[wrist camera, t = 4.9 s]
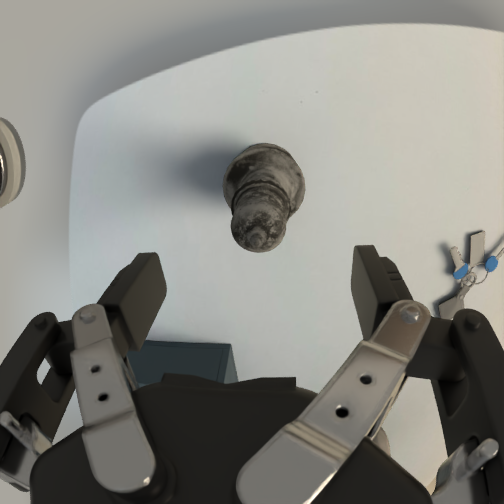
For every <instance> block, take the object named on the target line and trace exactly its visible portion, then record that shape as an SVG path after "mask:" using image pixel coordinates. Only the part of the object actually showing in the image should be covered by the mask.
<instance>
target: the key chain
mask: <svg viewBox="0 0 504 504" xmlns="http://www.w3.org/2000/svg"><path fill="white" fill-rule="evenodd" d="M484 244H485V231H483V232H480V233H477V234H475V235H472V236H471V250H470V266H471V267H472V268H473V267H474V266H477V265H479V264H484V263H482V262H483V260H484ZM457 249H458V247H456V246H454V247H452V248H451V250H450V253H451V255H452V258H453V261H454V263H455V266H456V267H455V270H454V272H453V276H454V278H455V279H461V278H462V280H461V288H460V290H459V292H458V293H457V294H456V295H455V297H453V298H451V299H449V300H447V301H446V302H444V303H442V304H440V305H439V311H440V317H441V318H442V319H449V320H450V319H452V318H453V317H454V315H455V313H456V312H457V311H459V310H461V309H464V302H463V299H464V297H465V295H466V293H467V292H468V291H469V289H470V288H471V287H472V286H473V285H474V284H480V283H482V282H483V281H484V280H485V279H486V277H487V275H488V272H492V271H493V270H495V268H496V267H497V265H498V259H499V258H500V257H501V256H502V254H503V253H504V248H503V249H502V250H501V252H500V253H499V254H498V255H497V256H496V257H495V256H490V257H489V258H488V259H487V261H486V263H485V264H484V265H485V269H486V268H487V269H486V271H487V275H486V277H485V279H484V280H483V281H482V282H479V283H475V282H476V279H477V276H476V274H475V273H473V272H471V270H472V268H471V269H470V272H469V273H467V271H468V264H467V263H466V262H465V263H463V260H462V259H460V258H461V254H459V251H458V252H457ZM470 275H473V276H474V281H473V282H472V281H471V280H470ZM467 277H468V279H467V281H468V280H470V282H471V283H472V284H471V285H469V286H467V285H464V284H463V282H467V281H464V280H465V279H466V278H467Z"/></svg>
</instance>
